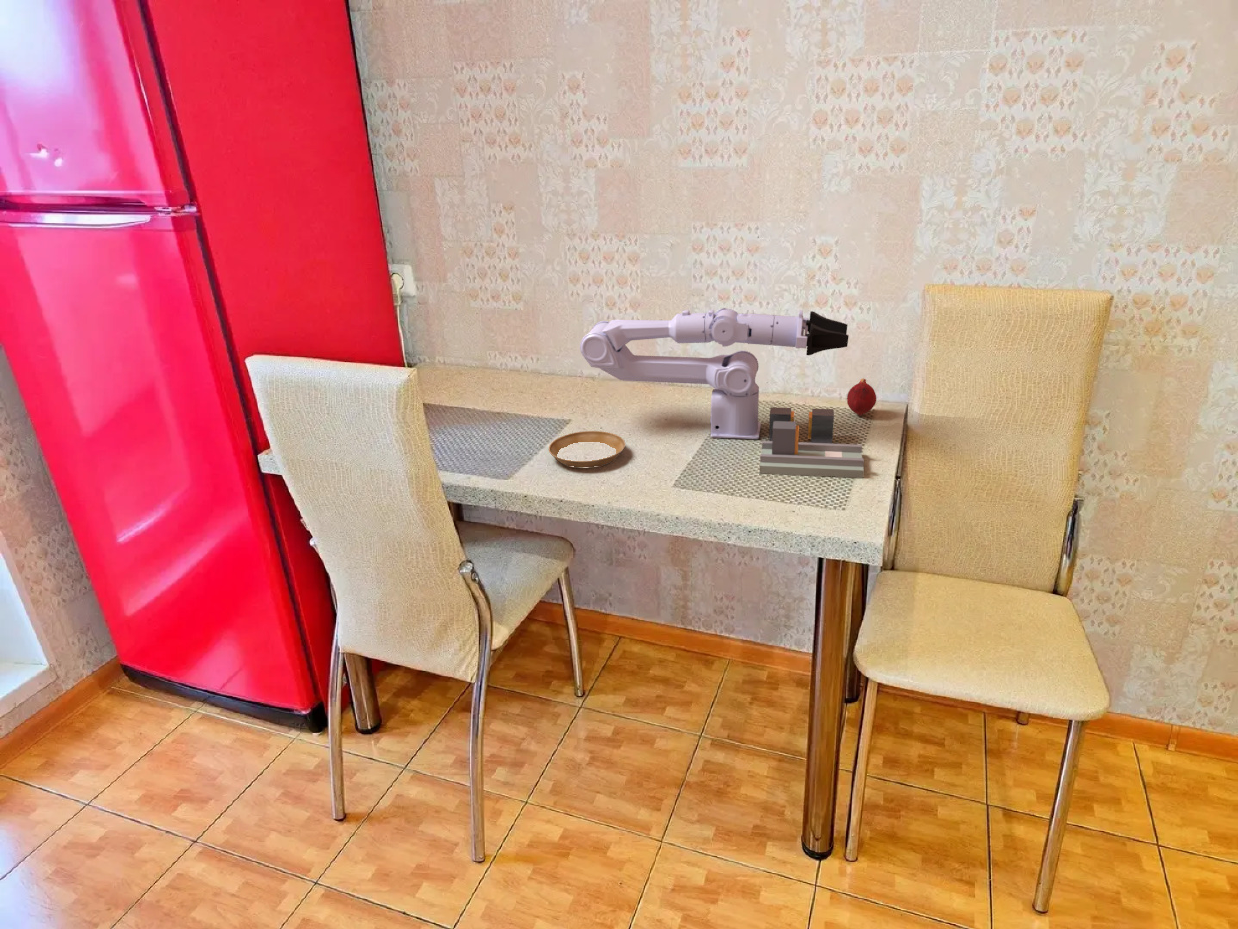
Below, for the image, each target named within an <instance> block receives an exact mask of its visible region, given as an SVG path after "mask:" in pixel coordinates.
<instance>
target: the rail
mask: <svg viewBox="0 0 1238 929" xmlns="http://www.w3.org/2000/svg"><path fill="white" fill-rule="evenodd" d="M799 436H800V425H797V422H796V421H794V422H786V421H774V422H773V438H772V441H769V440H762V441H761V452H760V455H759V456H760V457H759V458H760V459H759V474H770V475H771V474H772V475H787V476H810V477H811V476H812V477H828V476H831V477H832V476H835V477H834V478H850V477H851V479H852V478H853V479H855V478H856V479H863V478H864V471H865V470H864V462H865V460H864V458H863V454H862V452H863V451H862V450H863V446H862V445H863V444H854V443H853V444H852V443H851V444H850V443H849V444H848V443H832V444H829V443H811V442H802V441H801V442H799ZM832 478H833V477H832Z"/></svg>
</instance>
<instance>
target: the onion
mask: <svg viewBox="0 0 1238 929" xmlns="http://www.w3.org/2000/svg"><path fill="white" fill-rule="evenodd" d="M846 401H847V403H846V404H847V406H848V408H849V410H851V411H852V412H853V413H854V414H856V415H857V416H859V417H860V416H864V415H866V414H867V413H869V412H871V410H872V409H874V406H876V403H877V394H876V392H875V389H874V388H873V387H872V386H871V384H869V383H867V379H866V378H864V377H863V378H861V379H860V381H859V382H858V383H856V384H855V385H853V386H852V387H851V388H850V389H849V391H848V392H847V395H846Z"/></svg>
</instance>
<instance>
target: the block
mask: <svg viewBox="0 0 1238 929" xmlns="http://www.w3.org/2000/svg"><path fill="white" fill-rule="evenodd" d="M774 421H786V422H795V410H794V411H793V410H792V407H777V406H776V407H773V406H772V407H771V406H770V410H769V422H768V423H769V425H768V426H769V428H768V441H772V438H773V422H774Z"/></svg>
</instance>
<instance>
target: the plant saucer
mask: <svg viewBox="0 0 1238 929" xmlns="http://www.w3.org/2000/svg"><path fill="white" fill-rule="evenodd" d="M578 442H600V443H605V444H607V445H609V446H610V447H612V448H615V449H616V454H615V455H612V456H610V457H607V458H603V459H599V460H592V461H571V460H565V459H561V458H558V457H557V454H558V452H559V450H560V449H561V448H564V447H567V446H568V445H570V444H573V443H578ZM625 447H626V442H625V440H624V438H623V437H621V436H620V435H617V434H616V433H612V432H608V431H601V430H600V431H599V430H585V431H577V432H572V433H567V434H565V435H563V436H560V437H558V438H556V439H554V440H553V441H552V442H550V444H549V445H548V452H549V453H550V454H551V456H553V458H555V459H556V460H557V461H558V462H559V463H561V464H562V463H563V465H564V464H565V465H564V466H566V465H568V466H567V467H569V466H574V467H594V466H600V467H603V466H605V465H604V464H606V465H608V464H610V463H612V462H613V461H614V460H616V459H617V458H618V457H619V456H620V455H621V453H622V452H623V450H624V449H625ZM611 461H612V462H611ZM609 462H610V463H609ZM607 463H608V464H607ZM602 465H603V466H602Z"/></svg>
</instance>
